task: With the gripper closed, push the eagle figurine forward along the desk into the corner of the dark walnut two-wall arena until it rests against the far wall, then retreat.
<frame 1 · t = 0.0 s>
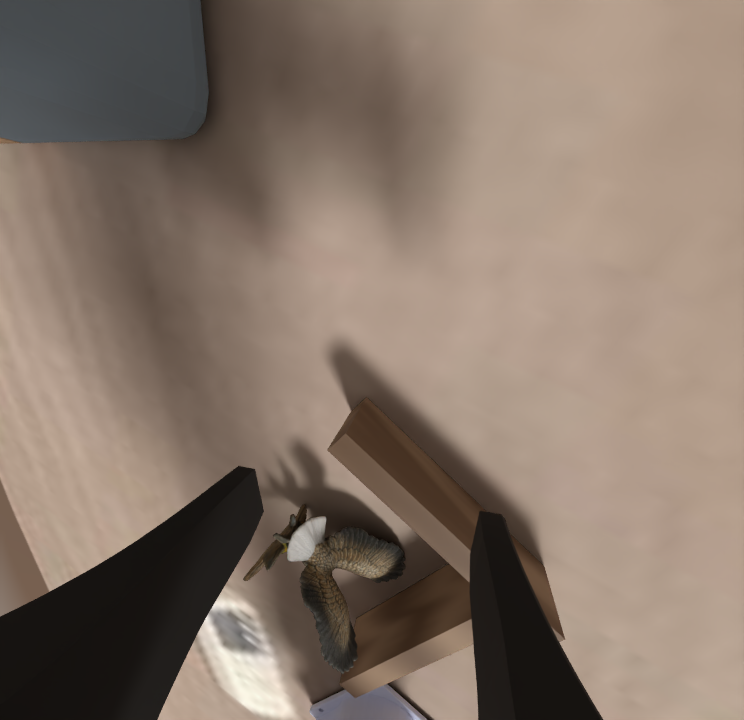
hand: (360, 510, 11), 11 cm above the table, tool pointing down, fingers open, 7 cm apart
eagle figurine: (345, 538, 26), on the table
walnut arena: (379, 546, 25), on the table
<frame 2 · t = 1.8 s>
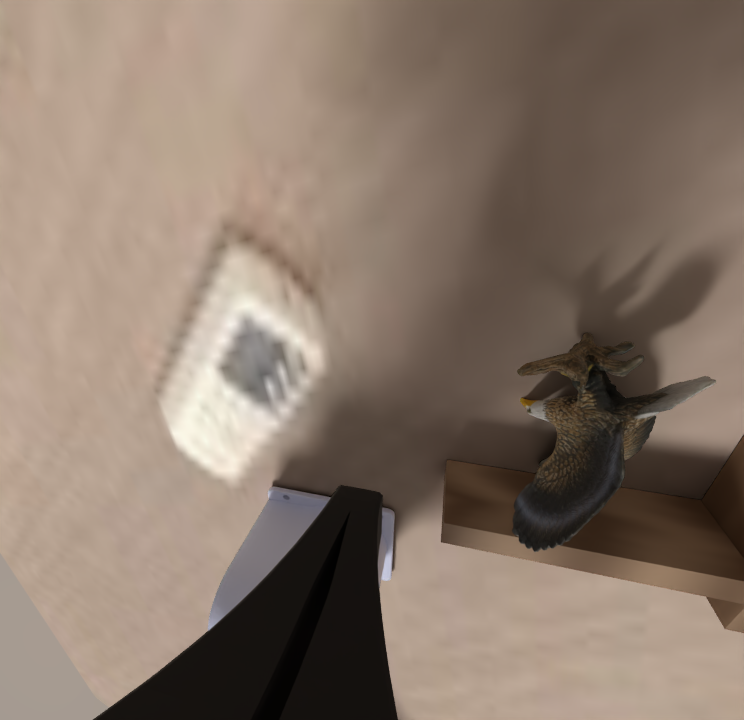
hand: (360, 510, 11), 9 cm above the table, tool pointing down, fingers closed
eagle figurine: (564, 402, 18), on the table
walnut arena: (592, 424, 18), on the table
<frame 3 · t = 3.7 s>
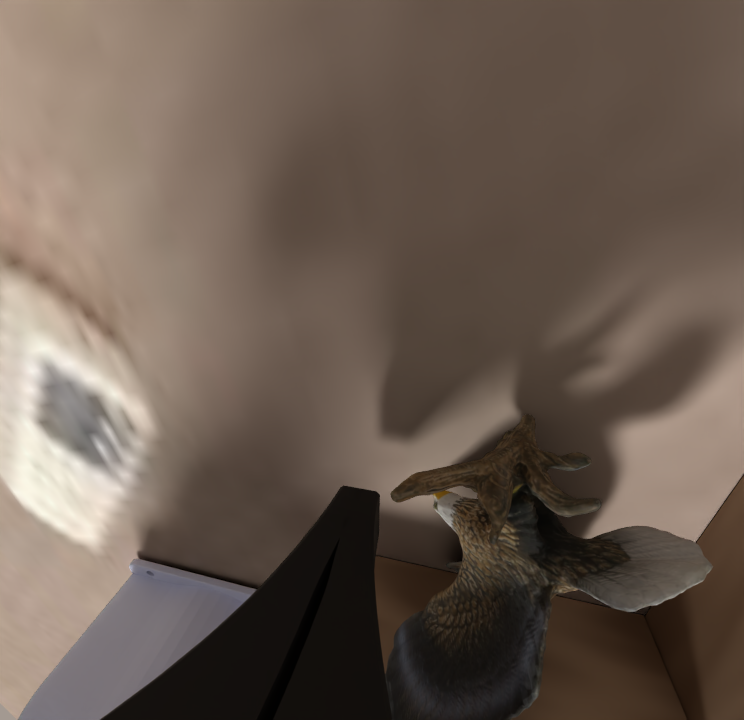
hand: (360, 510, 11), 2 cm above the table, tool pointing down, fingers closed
eagle figurine: (487, 495, 13), on the table, touching gripper
walnut arena: (493, 517, 13), on the table
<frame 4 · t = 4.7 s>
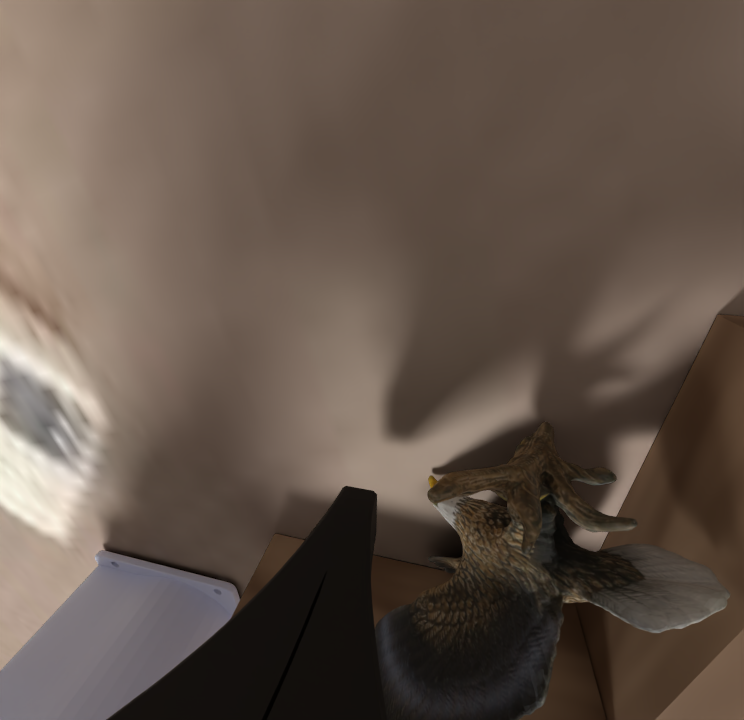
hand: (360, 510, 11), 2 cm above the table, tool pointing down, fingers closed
eagle figurine: (484, 495, 13), on the table, touching gripper, walnut arena
walnut arena: (425, 504, 14), on the table
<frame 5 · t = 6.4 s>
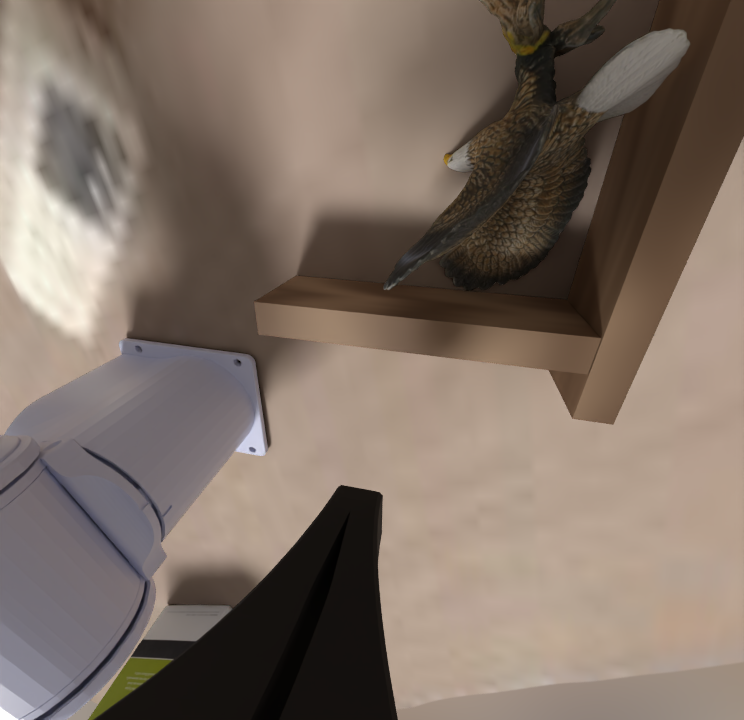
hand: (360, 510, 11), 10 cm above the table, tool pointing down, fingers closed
eagle figurine: (491, 178, 15), on the table
tea box: (230, 637, 42), on the table
walnut arena: (438, 200, 15), on the table
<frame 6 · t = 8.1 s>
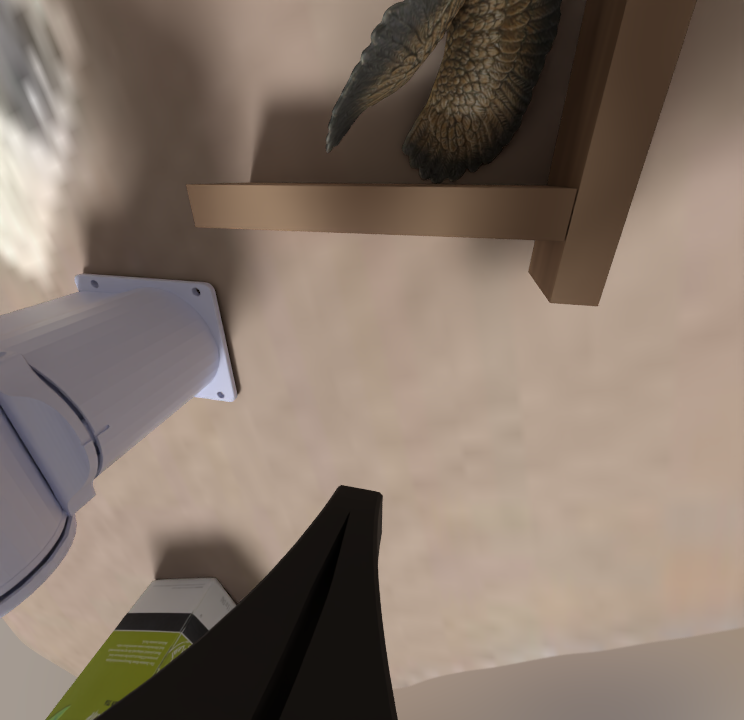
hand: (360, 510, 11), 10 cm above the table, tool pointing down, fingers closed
eagle figurine: (455, 38, 13), on the table, touching walnut arena
tea box: (220, 614, 41), on the table
walnut arena: (394, 70, 14), on the table
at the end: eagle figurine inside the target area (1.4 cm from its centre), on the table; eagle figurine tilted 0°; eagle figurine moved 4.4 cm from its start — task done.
